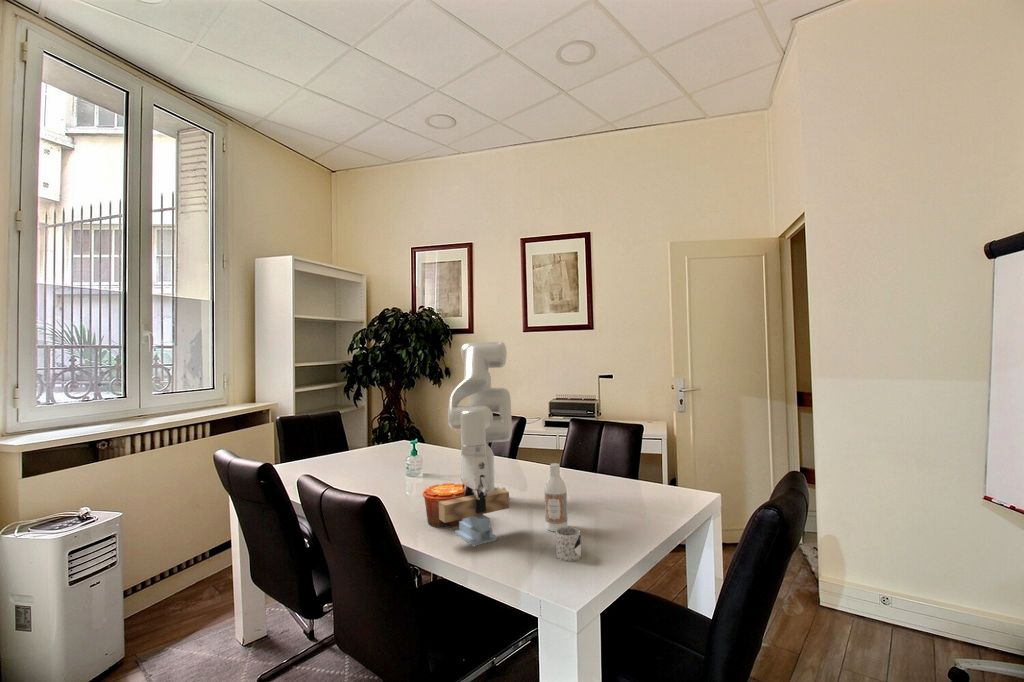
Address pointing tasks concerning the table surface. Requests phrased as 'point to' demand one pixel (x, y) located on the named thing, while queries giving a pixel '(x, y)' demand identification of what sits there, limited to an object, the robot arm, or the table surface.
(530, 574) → the table surface
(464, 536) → the light blue stepped block
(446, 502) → the light brown wooden bar
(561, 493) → the bath foam
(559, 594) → the table surface
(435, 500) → the food container
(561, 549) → the mug
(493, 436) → the robot arm
